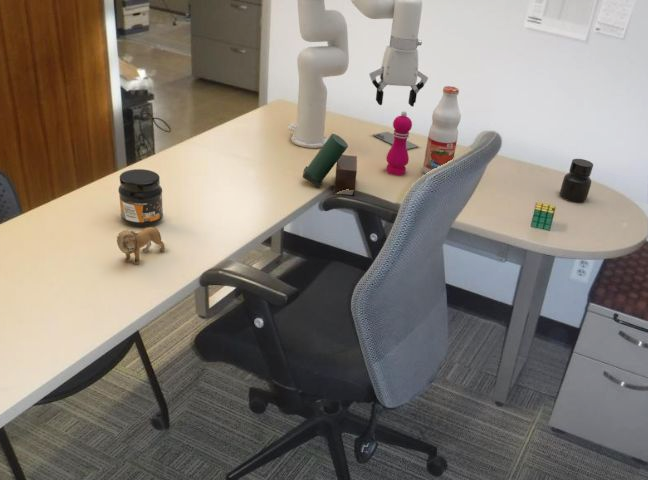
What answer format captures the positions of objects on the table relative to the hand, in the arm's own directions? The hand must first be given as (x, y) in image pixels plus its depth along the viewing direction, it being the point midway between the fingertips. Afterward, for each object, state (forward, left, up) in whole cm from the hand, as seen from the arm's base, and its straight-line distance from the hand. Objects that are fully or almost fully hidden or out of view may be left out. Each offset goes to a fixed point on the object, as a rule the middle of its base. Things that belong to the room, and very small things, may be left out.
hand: (395, 104), depth 210 cm
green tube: (-13, -14, -26) cm, 32 cm away
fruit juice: (+6, +23, -26) cm, 35 cm away
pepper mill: (-4, +13, -26) cm, 29 cm away
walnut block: (-8, -10, -26) cm, 29 cm away
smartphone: (-19, +38, -26) cm, 49 cm away
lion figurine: (-18, -82, -26) cm, 88 cm away
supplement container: (-33, -68, -26) cm, 80 cm away
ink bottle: (+48, +40, -26) cm, 68 cm away
